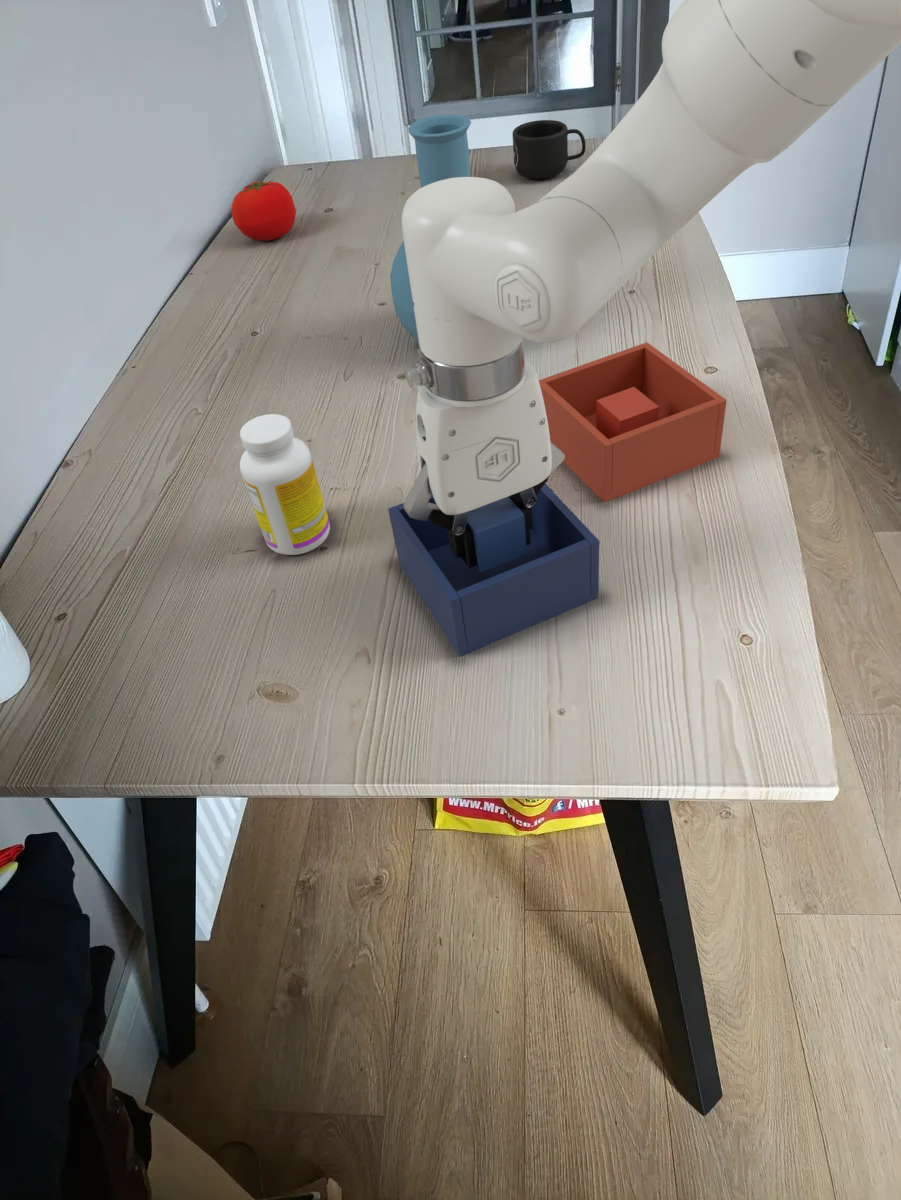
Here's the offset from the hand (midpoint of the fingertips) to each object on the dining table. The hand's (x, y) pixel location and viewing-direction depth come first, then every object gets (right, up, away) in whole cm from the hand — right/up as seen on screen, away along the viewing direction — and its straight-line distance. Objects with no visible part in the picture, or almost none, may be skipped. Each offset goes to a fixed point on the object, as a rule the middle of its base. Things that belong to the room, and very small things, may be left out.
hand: (492, 545), depth 77 cm
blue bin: (0, -3, +3) cm, 4 cm away
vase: (-2, +29, +36) cm, 47 cm away
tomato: (-33, +54, +66) cm, 91 cm away
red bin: (+15, +11, +15) cm, 24 cm away
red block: (+15, +12, +15) cm, 24 cm away
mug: (+13, +68, +72) cm, 100 cm away
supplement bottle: (-19, +2, +11) cm, 22 cm away
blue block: (0, 0, 0) cm, 0 cm away
